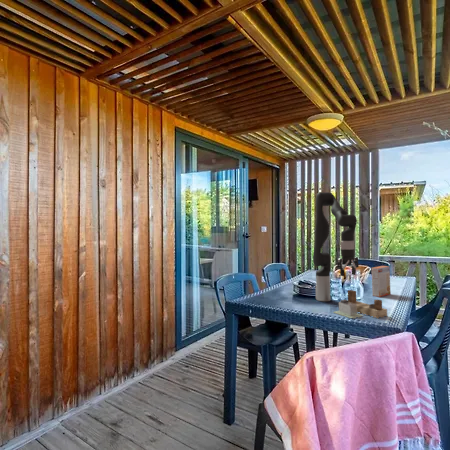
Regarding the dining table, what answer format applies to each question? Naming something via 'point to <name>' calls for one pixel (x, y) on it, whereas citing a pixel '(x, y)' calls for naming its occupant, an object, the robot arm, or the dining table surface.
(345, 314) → the mat
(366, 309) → the plane body
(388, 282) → the cracker box
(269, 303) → the dining table surface
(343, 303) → the beige rectangular block
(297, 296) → the dining table surface
